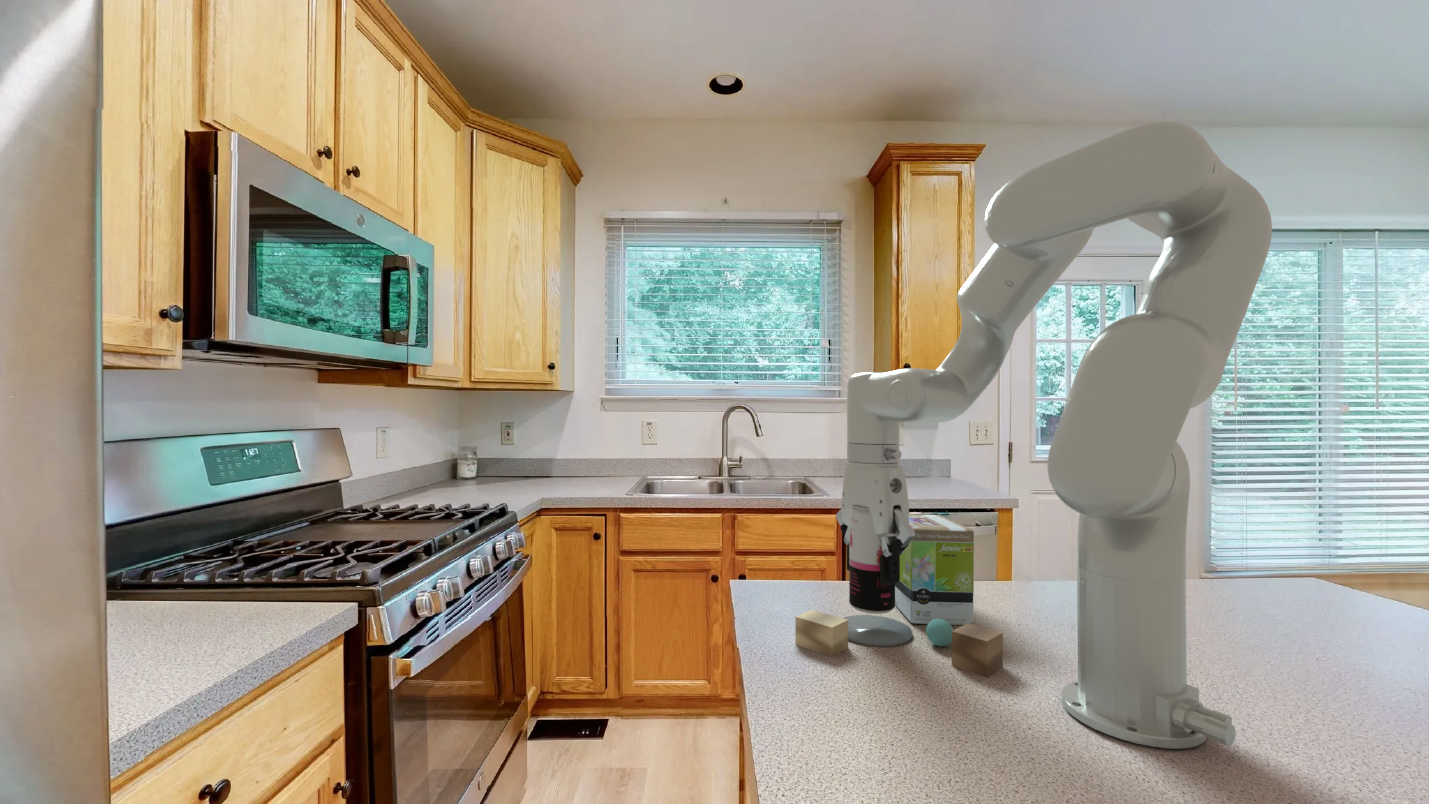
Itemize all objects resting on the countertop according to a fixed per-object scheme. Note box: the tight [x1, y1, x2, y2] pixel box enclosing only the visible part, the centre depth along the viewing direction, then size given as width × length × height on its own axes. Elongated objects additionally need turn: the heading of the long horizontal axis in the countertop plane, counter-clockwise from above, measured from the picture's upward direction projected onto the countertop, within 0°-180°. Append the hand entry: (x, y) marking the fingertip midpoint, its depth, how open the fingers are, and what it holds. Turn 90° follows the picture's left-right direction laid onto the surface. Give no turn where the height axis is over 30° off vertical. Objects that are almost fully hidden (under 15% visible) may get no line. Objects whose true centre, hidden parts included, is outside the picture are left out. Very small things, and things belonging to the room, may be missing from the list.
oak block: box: [795, 609, 849, 658], centre depth 82 cm, size 6×4×4 cm, turn 46°
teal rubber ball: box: [925, 619, 954, 647], centre depth 82 cm, size 4×4×4 cm
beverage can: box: [848, 505, 896, 615], centre depth 87 cm, size 7×7×15 cm
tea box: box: [895, 513, 975, 626], centre depth 97 cm, size 15×10×15 cm, turn 179°
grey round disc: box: [842, 614, 913, 648], centre depth 87 cm, size 11×11×1 cm
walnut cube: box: [951, 623, 1004, 679], centre depth 75 cm, size 4×4×4 cm
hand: (872, 575), depth 87 cm, fingers closed on beverage can, 6 cm apart
